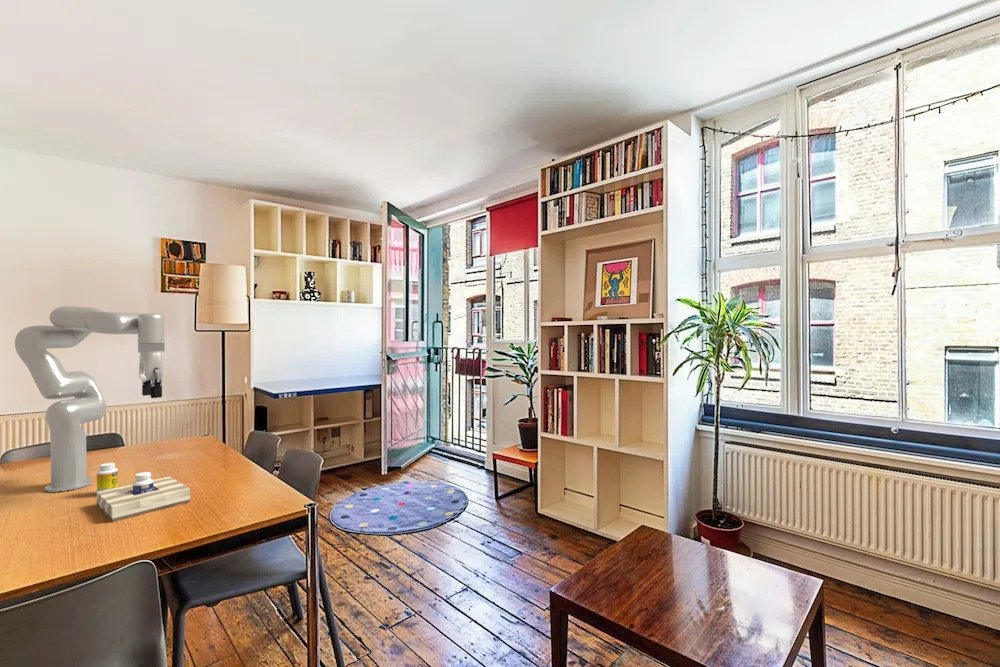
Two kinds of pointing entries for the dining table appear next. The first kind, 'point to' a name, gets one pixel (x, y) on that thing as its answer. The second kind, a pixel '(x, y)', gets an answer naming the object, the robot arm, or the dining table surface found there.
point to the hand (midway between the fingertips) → (152, 396)
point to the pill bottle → (142, 483)
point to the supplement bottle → (107, 477)
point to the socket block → (142, 499)
